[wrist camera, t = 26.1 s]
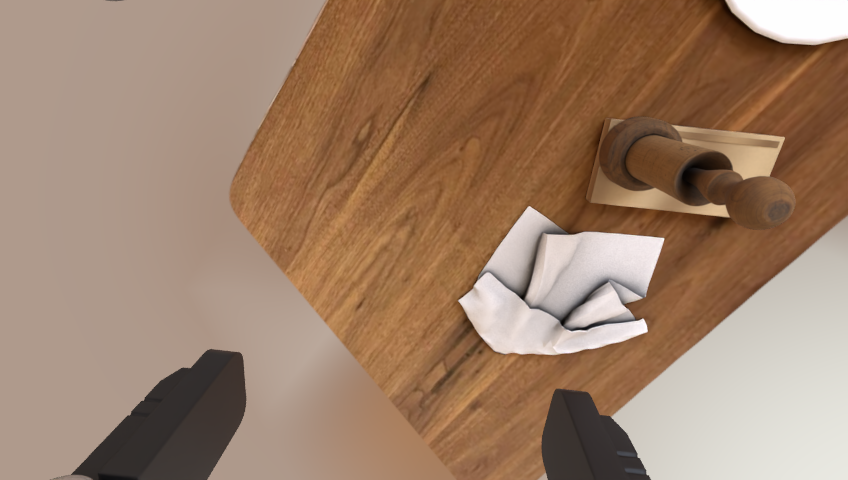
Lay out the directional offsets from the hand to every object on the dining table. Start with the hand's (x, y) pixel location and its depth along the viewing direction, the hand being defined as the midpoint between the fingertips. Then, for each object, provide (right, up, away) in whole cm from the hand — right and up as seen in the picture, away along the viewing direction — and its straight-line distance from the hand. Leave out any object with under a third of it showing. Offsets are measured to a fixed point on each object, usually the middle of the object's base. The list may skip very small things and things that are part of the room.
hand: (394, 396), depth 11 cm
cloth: (+17, -2, +36) cm, 39 cm away
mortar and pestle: (+21, +12, +28) cm, 37 cm away
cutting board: (+26, +11, +30) cm, 41 cm away
